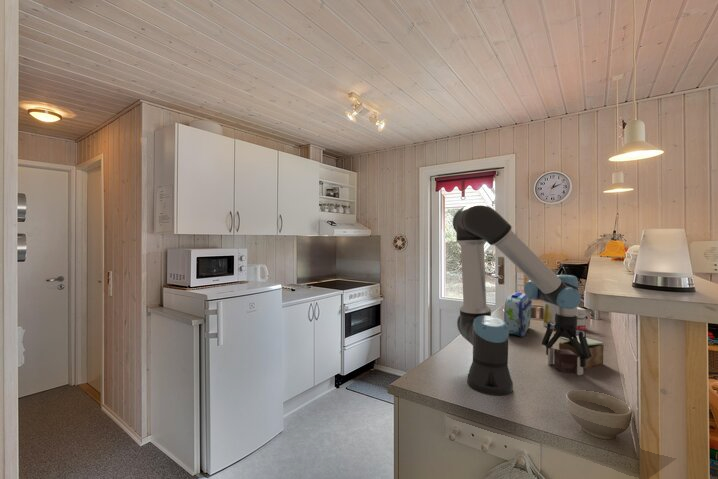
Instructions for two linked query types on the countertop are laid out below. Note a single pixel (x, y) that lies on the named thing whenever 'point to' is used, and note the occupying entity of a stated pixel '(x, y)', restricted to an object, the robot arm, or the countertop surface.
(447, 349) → the countertop surface
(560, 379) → the countertop surface
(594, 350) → the crate
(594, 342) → the lid
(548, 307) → the juice carton
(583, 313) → the ink box
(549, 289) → the robot arm
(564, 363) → the box
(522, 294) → the lunch box
